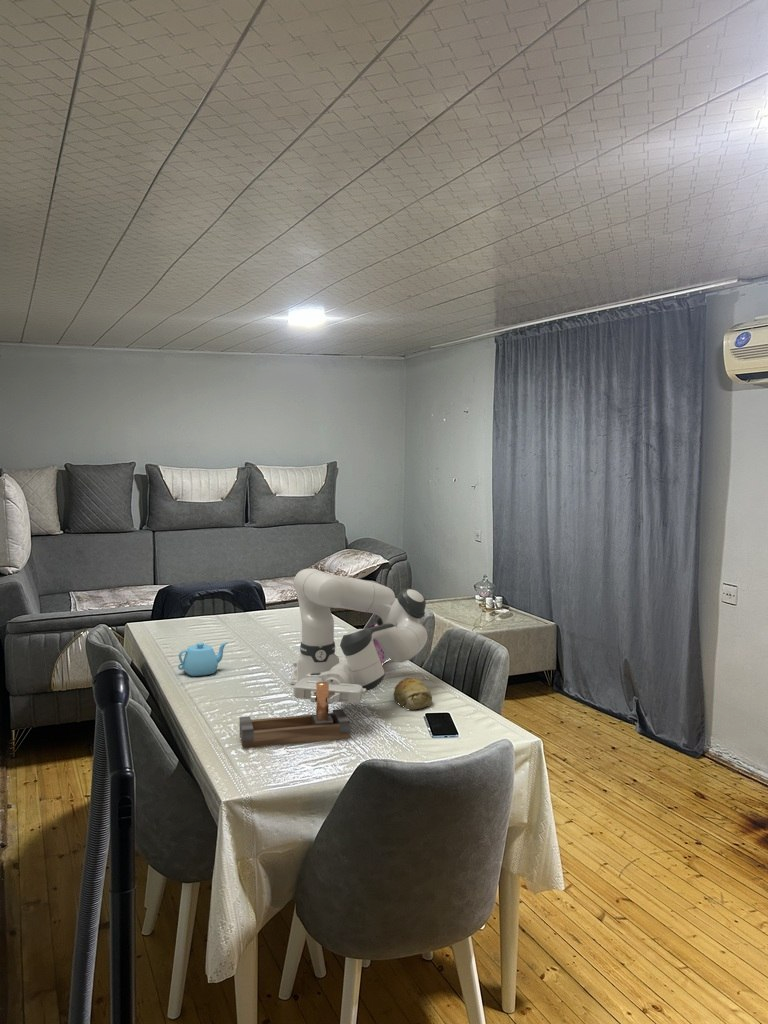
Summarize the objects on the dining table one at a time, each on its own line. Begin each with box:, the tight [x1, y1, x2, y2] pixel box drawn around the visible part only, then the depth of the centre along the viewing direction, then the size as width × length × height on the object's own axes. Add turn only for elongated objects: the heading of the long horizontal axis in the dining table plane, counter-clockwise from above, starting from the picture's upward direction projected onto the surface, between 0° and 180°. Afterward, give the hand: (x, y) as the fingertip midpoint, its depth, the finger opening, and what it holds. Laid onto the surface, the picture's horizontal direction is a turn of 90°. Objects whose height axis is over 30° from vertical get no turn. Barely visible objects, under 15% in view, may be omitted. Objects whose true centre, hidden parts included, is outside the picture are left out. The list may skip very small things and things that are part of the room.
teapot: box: [177, 641, 229, 677], centre depth 277 cm, size 13×11×18 cm
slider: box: [311, 682, 333, 726], centre depth 220 cm, size 6×5×13 cm
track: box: [239, 708, 351, 748], centre depth 218 cm, size 10×30×5 cm, turn 105°
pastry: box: [392, 677, 433, 711], centre depth 247 cm, size 14×12×8 cm
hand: (321, 700), depth 218 cm, fingers closed on slider, 3 cm apart
